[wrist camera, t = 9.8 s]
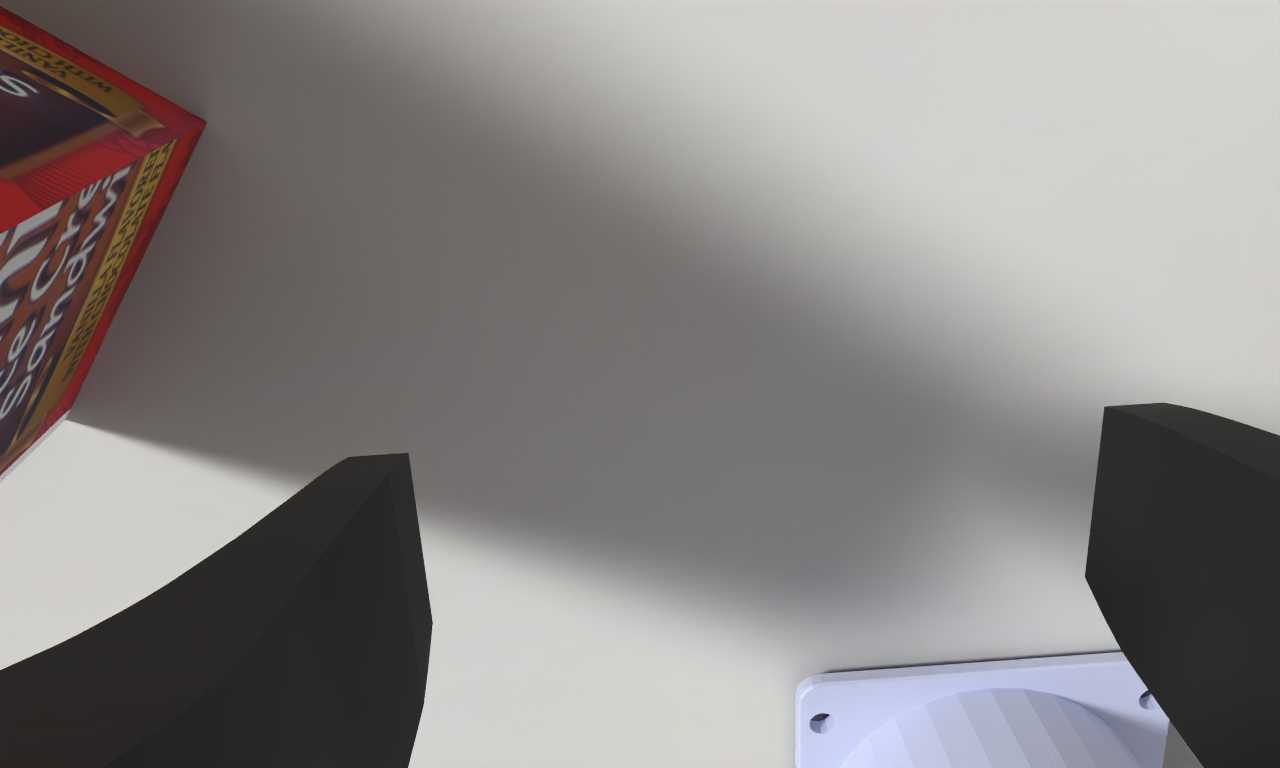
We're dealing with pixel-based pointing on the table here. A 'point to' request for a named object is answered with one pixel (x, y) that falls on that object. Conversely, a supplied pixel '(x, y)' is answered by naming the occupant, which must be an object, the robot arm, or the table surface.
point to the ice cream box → (71, 216)
